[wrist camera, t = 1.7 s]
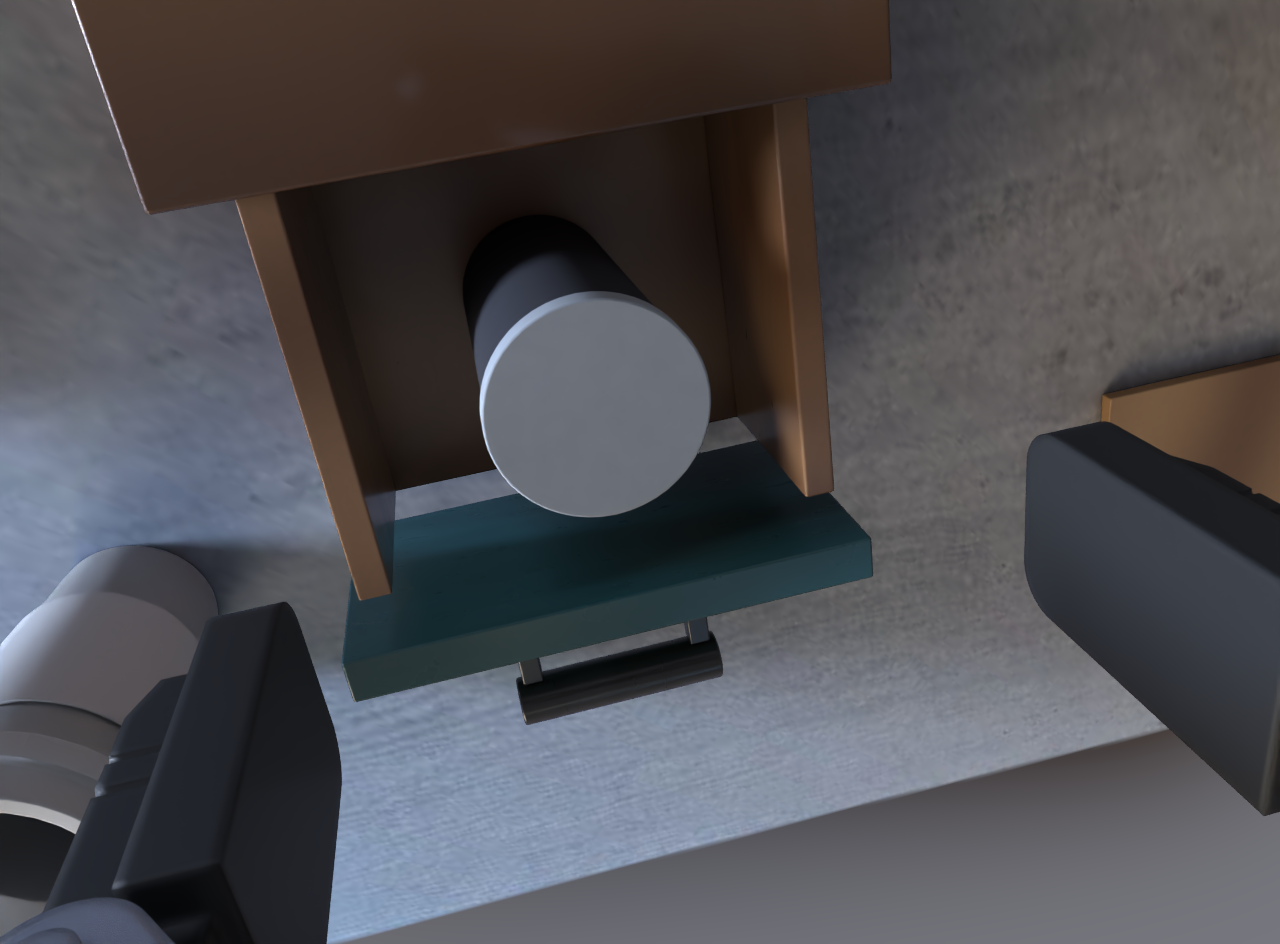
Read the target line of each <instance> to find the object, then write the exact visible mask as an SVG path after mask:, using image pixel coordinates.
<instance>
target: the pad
mask: <svg viewBox="0 0 1280 944" xmlns="http://www.w3.org/2000/svg"><path fill="white" fill-rule="evenodd" d="M1101 421H1107V422H1111V423H1113V424H1115V425H1117V426H1119V427H1121V428H1122V429H1124V430H1126V431H1128V432H1130V433H1131V434H1133V435H1135V436H1137V437H1138V438H1140V439H1142V440H1144V441H1146V442H1147V443H1149V444H1151V445H1153V446H1155V447H1156V448H1158V449H1160V450H1162V451H1163V452H1165V453H1167V454H1169V455H1172V456H1175V457H1179V458H1182V459H1186V460H1189V461H1193V462H1196V463H1200V464H1203V465H1207V466H1210V467H1213V468H1215V469H1217V470H1219V471H1221V472H1223V473H1224V474H1226V475H1228V476H1230V477H1232V478H1234V479H1235V480H1237V481H1239V482H1241V483H1243V484H1245V485H1246V486H1248V487H1250V488H1252V492H1253V494H1257V493H1261V494H1263V495H1265V496H1267V497H1268V498H1270V499H1272V500H1274V501H1276V502H1278V503H1279V504H1280V355H1276V356H1271V357H1267V358H1262V359H1258V360H1253V361H1249V362H1245V363H1240V364H1236V365H1231V366H1227V367H1222V368H1218V369H1213V370H1209V371H1205V372H1200V373H1196V374H1191V375H1187V376H1182V377H1178V378H1174V379H1169V380H1165V381H1160V382H1156V383H1151V384H1147V385H1142V386H1138V387H1134V388H1129V389H1125V390H1120V391H1116V392H1111V393H1107V394H1103V397H1102V416H1101Z"/></svg>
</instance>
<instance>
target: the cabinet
mask: <svg viewBox="0 0 1280 944" xmlns="http://www.w3.org/2000/svg"><path fill="white" fill-rule="evenodd" d="M71 2H72V5H73V8H74V11H75V14H76V17H77V20H78V22H79V25H80V28H81V31H82V34H83V37H84V40H85V42H86V45H87V48H88V51H89V54H90V57H91V60H92V63H93V65H94V68H95V71H96V74H97V77H98V80H99V83H100V85H101V88H102V91H103V94H104V97H105V100H106V103H107V105H108V108H109V111H110V114H111V117H112V120H113V123H114V125H115V128H116V131H117V134H118V137H119V140H120V143H121V145H122V148H123V151H124V154H125V157H126V160H127V163H128V165H129V168H130V171H131V174H132V177H133V180H134V183H135V185H136V188H137V191H138V194H139V197H140V200H141V203H142V206H143V208H144V211H145V212H146V213H147V214H151V215H152V214H157V213H163V212H169V211H174V210H180V209H186V208H191V207H197V206H202V205H208V204H214V203H219V202H225V201H231V200H236V199H242V198H247V197H253V196H259V195H264V194H270V193H276V192H281V191H287V190H293V189H298V188H304V187H309V186H315V185H321V184H326V183H332V182H338V181H343V180H349V179H354V178H360V177H366V176H371V175H377V174H383V173H388V172H394V171H399V170H405V169H411V168H416V167H422V166H428V165H433V164H439V163H445V162H450V161H456V160H461V159H467V158H473V157H478V156H484V155H490V154H495V153H501V152H506V151H512V150H518V149H523V148H529V147H535V146H540V145H546V144H551V143H557V142H563V141H568V140H574V139H580V138H585V137H591V136H597V135H602V134H608V133H613V132H619V131H625V130H630V129H636V128H642V127H647V126H653V125H658V124H664V123H670V122H675V121H681V120H687V119H692V118H698V117H703V116H709V115H715V114H720V113H726V112H732V111H737V110H743V109H749V108H754V107H760V106H765V105H771V104H777V103H782V102H788V101H794V100H799V99H805V98H810V97H816V96H822V95H827V94H833V93H839V92H844V91H850V90H855V89H861V88H867V87H872V86H878V85H884V84H888V83H889V82H891V79H892V74H891V47H890V20H889V0H71Z"/></svg>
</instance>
